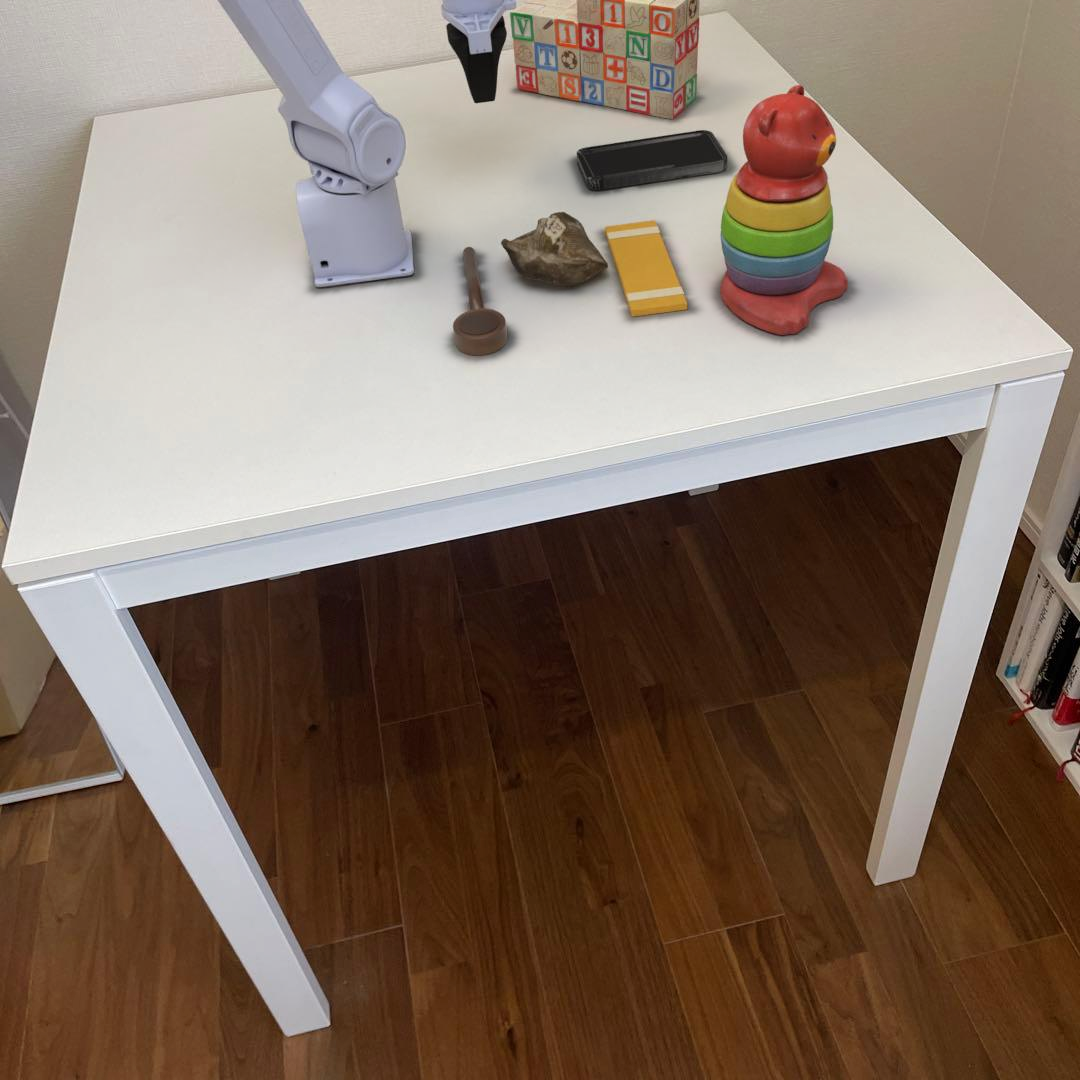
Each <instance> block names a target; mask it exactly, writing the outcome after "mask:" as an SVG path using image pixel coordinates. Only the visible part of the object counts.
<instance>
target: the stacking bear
mask: <svg viewBox="0 0 1080 1080" xmlns="http://www.w3.org/2000/svg"><path fill="white" fill-rule="evenodd" d="M742 142H743V143H742V145H743V146H742V147H743V151H744V154H745V157H746V160H747V161H746V162H744V164H743V165H742V166H741V167H740V169H739V171H738V172H737V173H736V174H735V175H734V177H733V178H732V180H731V182H730V185H729V188H728V191H727V195H726V200H725V203H724V206H723V210H722V215H721V223H720V243H721V251H722V254H723V259H724V264H725V269H726V270H725V273H724V274H723V276H722V280H721V282H720V286H719V287H720V288H719V291H720V292H719V293H720V297H721V299H722V301H723V303H724V304H725V305H726V306H727V308H729V310H730V311H731V312H732V313H733V314H735V315H736V316H737V317H738V318H740V319H741V320H743V321H744V322H746V323H748V324H750V325H752V326H754V327H756V328H757V329H761V330H763V331H765V332H768V333H772V334H774V335H780V336H781V335H782V336H784V335H792V334H793V335H794V334H797V333H799V332H801V331H802V330H803V329H805V328H807V326H808V325H809V322H810V321H809V320H810V319H809V318H810V317H809V316H810V313H811V312H812V310H813V309H814V308H815V307H817V306H818V305H820V304H821V303H823V302H826V301H831V300H834V299H837V298H839V297H841V296H842V295H843V294H844V293H845V292H846V291H847V290H848V287H849V280H848V277H847V275H846V274H845V271H844V270H843V269H841V268H840V267H839V266H838V265H835V264H833V263H831V262H829V261H827V260H826V257H827V255H828V252H829V248H830V245H831V241H832V236H833V230H834V209H833V205H832V204H833V203H832V197H831V196H832V195H831V190H830V184H829V181H828V178H829V177H828V173H827V171H826V169H825V167H824V165H825V164H826V163H827V162H828V161H829V159H830V158H831V156H832V155H833V153H834V151H835V148H836V145H837V135H836V132H835V129H834V126H833V125H832V122H831V121H830V120H829V118H828V116H827V115H826V113H825V111H824V110H823V109H822V107H821V106H820V104H818V103H817V102H816V101H815V100H814V99H812V98H810V97H808V96H806V95H805V88H804V86H803V85H801V84H797V85H794V86H791V87H790V88H789V89H788V91H787V93H779V94H775V95H771V96H769V97H767V98H765V99H762V100H761V101H759V102H758V103H757V104H756V105H755V106H754V107H753V108H752V109H751V111H750V112H749V114H748V115H747V117H746V120H745V122H744V125H743V129H742Z"/></svg>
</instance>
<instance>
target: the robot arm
mask: <svg viewBox="0 0 1080 1080" xmlns="http://www.w3.org/2000/svg"><path fill="white" fill-rule="evenodd" d="M441 1H442V4H441V5H440V10H441V16H442V18H443V19H444V20H445V21H447V22H448V23H447V24H446V26H445V28H446V35H447V41H448V44H449V45H450V47H451V49H452V50H453V52H454V53H455V55H456V56H457V58H458V60H459V62H460V64H461V67H462V69H463V72H464V75H465V79H466V83H467V86H468V89H469V93H470V96H471V98H472V100H473V103H474V104H482V103H489V102H495V101H496V97H497V88H498V75H499V74H498V73H499V65H500V59H501V54H502V51H503V48H504V46H505V44H506V40H507V35H508V31H507V28H506V22H505V18H504V16H503V15H504V13H506V12H507V11H512V10H514V9H515V8H517V0H441ZM217 2H218V3H219V4H220V6H221V7H222V9H223V11H224V12H225V13H226V15H227V16H228V17H229V19H230V20H231V21H232V23H233V25H234V26H235V27H236V30H237V31H238V33H240V35H241V36H242V37H243V39H244V41H245V42H246V44H247V45H248V46H249V48H250V50H251V51H252V52H253V54H254V56H256V58H257V59H258V61H259V62H260V64H261V66H262V67H263V69H264V70H265V71H266V73H267V74H268V76H269V77H270V78H271V80H272V81H273V83H274V84H275V86H276V87H277V89H278V90H279V91H280V93H281V94H282V96H281V98H280V101H279V104H278V106H277V111H278V113H279V114H280V116H281V117H282V119H283V121H284V122H285V124H286V128H287V132H288V138H289V142H290V145H291V147H292V149H293V151H294V152H295V154H296V155H297V156H298V157H299V158H300V159H302V160H304V161H306V162H307V163H308V167H309V171H310V175H313V176H311V177H308V178H305V179H300V180H298V181H296V183H295V197H296V198H295V199H296V206H297V211H298V217H299V222H300V226H301V231H302V235H303V238H304V242H305V246H306V251H307V255H308V258H309V262H310V266H311V269H312V274H313V278H314V286H315V287H316V288H324V287H332V286H339V285H345V284H346V285H347V284H355V283H361V282H362V283H363V282H370V281H378V280H385V279H392V278H393V279H394V278H400V277H407V276H411V275H413V274H414V273H415V268H414V253H413V239H412V238H413V237H412V232H411V231H410V230H405V226H404V221H403V216H402V210H401V205H400V199H399V194H398V188H397V183H396V177H398V176H399V170H400V169H401V166H402V164H403V161H404V158H405V154H406V148H407V147H406V146H407V143H406V141H407V140H406V135H405V131H404V128H403V125H402V123H401V122H400V121H399V119H398V118H397V117H396V116H394V115H393V114H391V113H389V112H387V111H385V110H383V109H382V108H381V106H380V105H379V104H378V102H377V101H376V99H375V97H374V96H373V95H372V94H371V93H370V92H369V91H367V90H366V89H365V88H364V87H362V86H361V85H360V84H359V83H358V82H356V81H355V80H354V79H352V77H350V76H349V75H347V73H345V72H344V71H343V69H342V68H341V66H340V65H339V63H338V61H337V60H336V58H335V56H334V54H333V53H332V51H331V50H330V48H329V47H328V45H327V44H326V42H325V40H324V39H323V37H322V36H321V34H320V32H319V31H318V29H317V27H316V26H315V24H314V22H313V21H312V19H311V18H310V16H309V14H308V13H307V11H306V9H305V8H304V6H303V4H302V2H301V1H300V0H217Z"/></svg>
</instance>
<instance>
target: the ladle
mask: <svg viewBox="0 0 1080 1080" xmlns="http://www.w3.org/2000/svg"><path fill="white" fill-rule="evenodd" d="M462 257H463V265H464V273H465V279H466V287H467V293H468V301H469V309H470V310H467V311H464V312H463V313H461V314H459V315H458V316H457V317H456V318H455V320H454V321H453V323H452V330H453V336H454V343H455V346H456V348H457V349H458V350H459V351H460V352H461V353H464V354H465V355H468V356H469V355H470V356H476V357H477V356H479V357H480V356H487V355H491V354H494V353H496V352H498V351H500V350H501V349H503V347H504V346H505V345H506V344H507V342H508V331H507V322H506V321H507V320H506V318H505V316H504V315H503V314H502V313H501V312H500V311H497V310H496V309H492V308H485V307H484V300H483V293H482V287H481V281H480V275H479V274H480V273H479V269H478V268H479V267H478V260H477V254H476V249H475V248H474V247H472V246H466V247H464V249H463V251H462Z"/></svg>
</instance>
